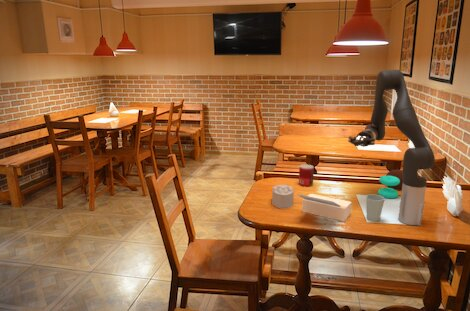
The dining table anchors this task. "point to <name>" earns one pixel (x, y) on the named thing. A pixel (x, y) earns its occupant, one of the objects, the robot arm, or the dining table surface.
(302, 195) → the flap
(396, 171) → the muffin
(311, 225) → the dining table surface
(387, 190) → the pair of teal discs
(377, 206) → the cup
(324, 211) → the carton
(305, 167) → the canned food
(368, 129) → the robot arm
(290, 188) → the paw print tray
